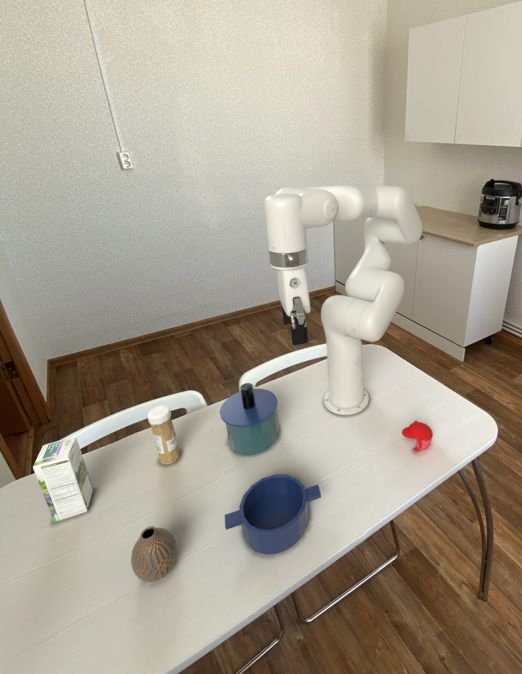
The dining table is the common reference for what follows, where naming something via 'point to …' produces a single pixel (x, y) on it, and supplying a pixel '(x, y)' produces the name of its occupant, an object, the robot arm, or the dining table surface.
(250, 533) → the pan
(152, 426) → the spice jar
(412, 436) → the red rounded piece
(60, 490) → the syrup box
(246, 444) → the pot
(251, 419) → the lid
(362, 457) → the dining table surface
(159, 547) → the vase
